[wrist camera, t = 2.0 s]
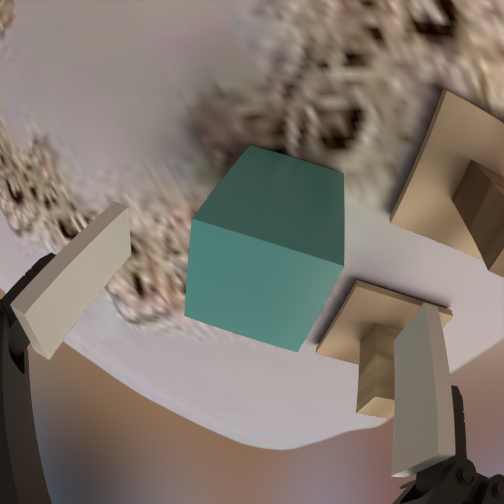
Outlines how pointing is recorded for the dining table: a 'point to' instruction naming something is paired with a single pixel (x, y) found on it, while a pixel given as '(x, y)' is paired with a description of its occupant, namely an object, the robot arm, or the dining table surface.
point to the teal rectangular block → (267, 248)
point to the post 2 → (458, 183)
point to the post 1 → (372, 341)
